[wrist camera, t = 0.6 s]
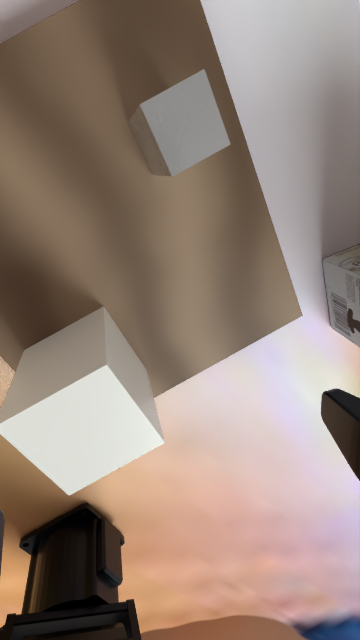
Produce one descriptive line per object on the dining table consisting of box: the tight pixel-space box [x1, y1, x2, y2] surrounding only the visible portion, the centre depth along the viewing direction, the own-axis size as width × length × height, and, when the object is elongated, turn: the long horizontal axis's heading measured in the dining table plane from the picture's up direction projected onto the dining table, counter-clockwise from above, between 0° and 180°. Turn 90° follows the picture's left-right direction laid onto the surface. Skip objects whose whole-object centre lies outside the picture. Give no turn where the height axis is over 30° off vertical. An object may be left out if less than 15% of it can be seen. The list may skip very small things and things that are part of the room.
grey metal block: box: [128, 69, 230, 177], centre depth 14 cm, size 3×3×5 cm
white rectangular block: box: [0, 306, 165, 496], centre depth 18 cm, size 5×5×7 cm
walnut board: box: [0, 0, 303, 397], centre depth 19 cm, size 18×20×1 cm
